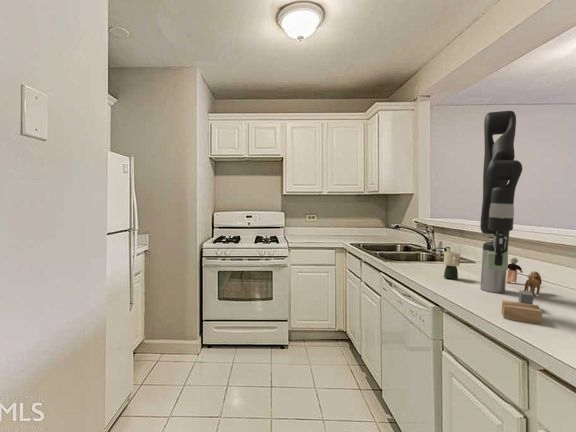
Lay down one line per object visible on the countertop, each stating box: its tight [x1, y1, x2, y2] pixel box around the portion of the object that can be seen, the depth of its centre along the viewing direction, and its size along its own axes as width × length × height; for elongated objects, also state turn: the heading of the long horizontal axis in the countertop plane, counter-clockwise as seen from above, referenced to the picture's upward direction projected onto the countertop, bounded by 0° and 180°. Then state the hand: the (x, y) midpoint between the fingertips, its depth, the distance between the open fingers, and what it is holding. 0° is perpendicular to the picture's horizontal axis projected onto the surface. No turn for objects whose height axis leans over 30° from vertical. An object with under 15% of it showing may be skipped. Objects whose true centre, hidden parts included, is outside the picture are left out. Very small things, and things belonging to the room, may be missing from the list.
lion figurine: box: [523, 271, 543, 297], centre depth 146 cm, size 15×5×9 cm, turn 139°
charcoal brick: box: [518, 289, 534, 305], centre depth 126 cm, size 6×4×6 cm, turn 152°
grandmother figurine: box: [506, 256, 524, 283], centre depth 166 cm, size 8×4×13 cm, turn 76°
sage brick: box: [488, 252, 509, 271], centre depth 125 cm, size 6×4×6 cm, turn 62°
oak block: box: [501, 300, 543, 325], centre depth 114 cm, size 8×10×4 cm
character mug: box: [443, 250, 461, 280], centre depth 171 cm, size 11×7×13 cm, turn 169°
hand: (497, 264), depth 125 cm, fingers closed on sage brick, 3 cm apart
